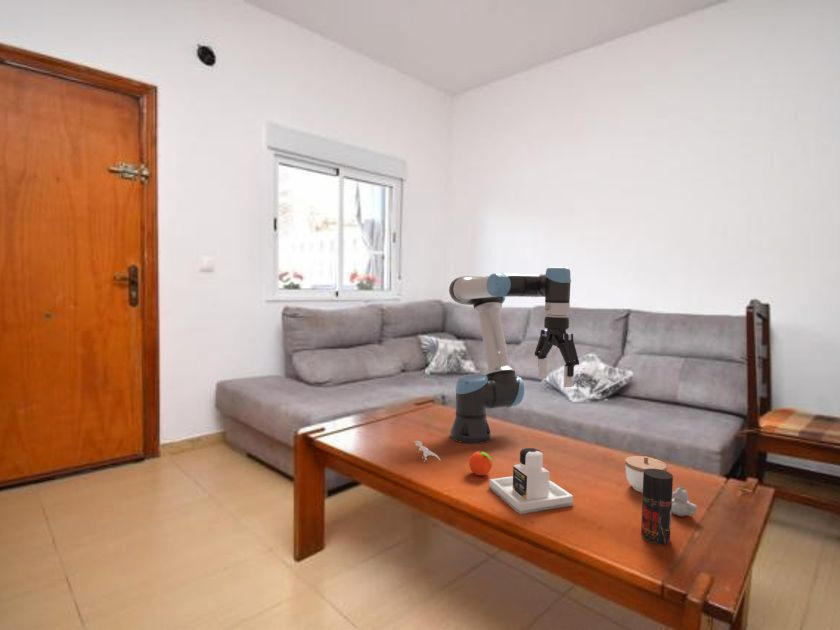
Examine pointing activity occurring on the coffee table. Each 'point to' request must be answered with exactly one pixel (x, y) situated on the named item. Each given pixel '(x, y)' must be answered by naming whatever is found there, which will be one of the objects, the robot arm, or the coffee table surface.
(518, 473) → the medicine bottle
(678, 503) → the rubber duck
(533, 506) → the tray
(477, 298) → the robot arm
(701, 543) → the coffee table surface
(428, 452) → the dinosaur figurine
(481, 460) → the clementine
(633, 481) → the lidded jar
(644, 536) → the deodorant
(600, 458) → the coffee table surface
